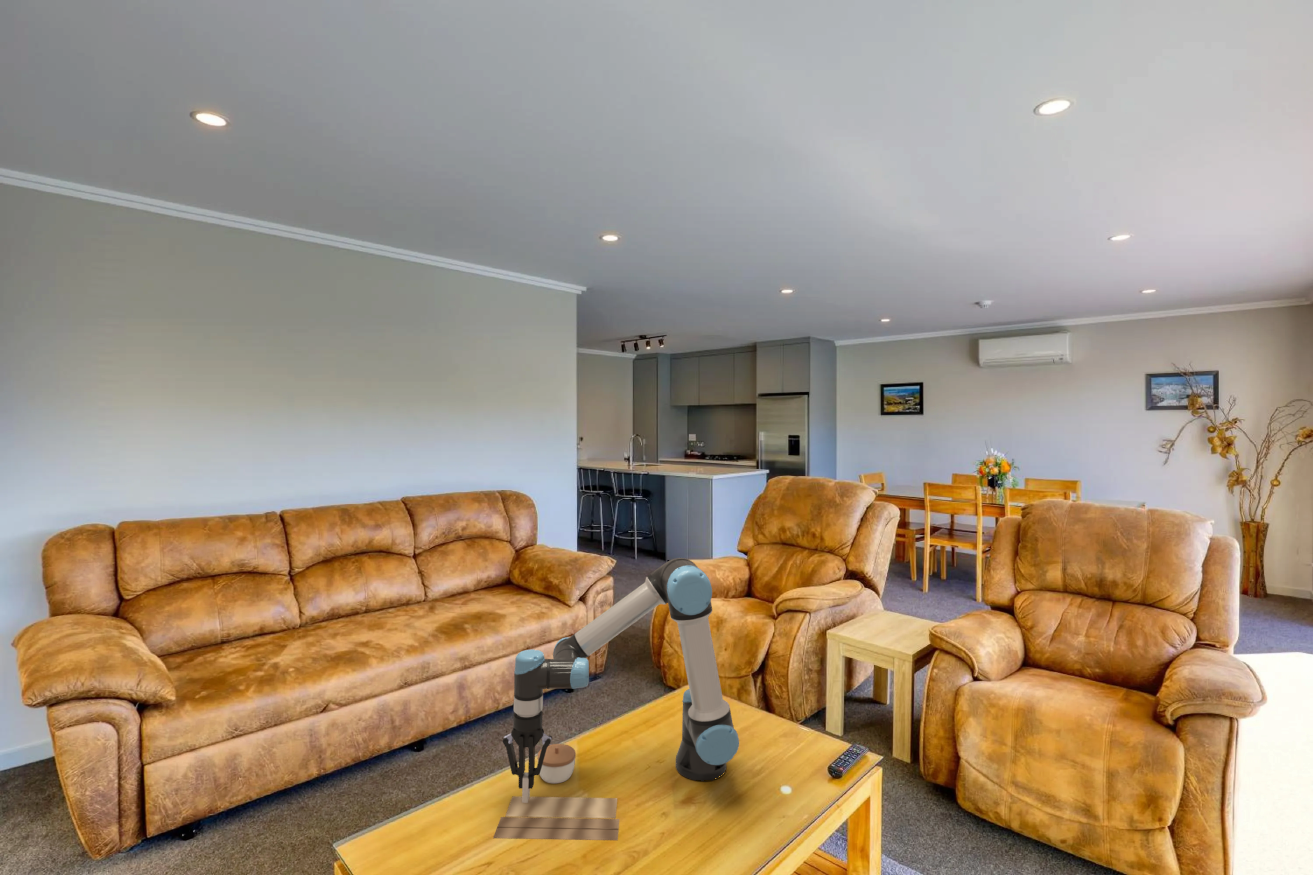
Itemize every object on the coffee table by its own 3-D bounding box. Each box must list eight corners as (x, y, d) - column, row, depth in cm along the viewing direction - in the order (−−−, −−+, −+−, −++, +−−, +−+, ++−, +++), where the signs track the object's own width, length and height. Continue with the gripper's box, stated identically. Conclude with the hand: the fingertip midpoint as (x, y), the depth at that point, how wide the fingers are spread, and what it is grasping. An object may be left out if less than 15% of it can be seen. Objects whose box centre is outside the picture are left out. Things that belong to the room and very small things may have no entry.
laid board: (619, 824, 155) (619, 818, 155) (617, 846, 147) (617, 839, 147) (500, 822, 155) (501, 816, 155) (492, 844, 147) (492, 837, 147)
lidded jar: (567, 793, 168) (568, 759, 168) (530, 788, 170) (531, 754, 170) (580, 772, 179) (580, 740, 179) (545, 767, 181) (546, 735, 181)
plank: (617, 803, 164) (617, 798, 164) (615, 823, 156) (615, 818, 156) (512, 801, 163) (512, 796, 163) (505, 821, 155) (505, 816, 155)
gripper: (555, 705, 165) (552, 791, 166) (506, 704, 165) (504, 790, 166) (550, 718, 158) (548, 808, 158) (499, 717, 158) (497, 807, 158)
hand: (525, 799), depth 162 cm, fingers closed
